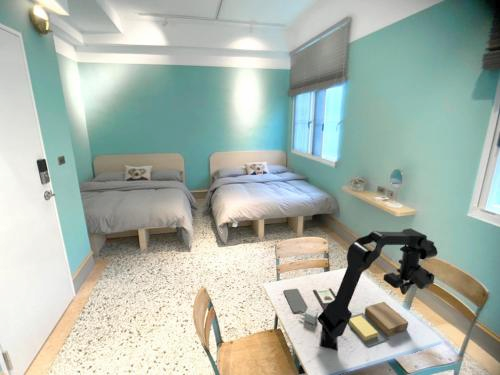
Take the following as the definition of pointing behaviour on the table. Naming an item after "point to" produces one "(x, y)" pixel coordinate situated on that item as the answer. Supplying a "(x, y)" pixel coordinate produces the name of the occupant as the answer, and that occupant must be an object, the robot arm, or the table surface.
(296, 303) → the smartphone
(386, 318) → the block
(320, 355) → the table surface
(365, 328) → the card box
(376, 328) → the mat
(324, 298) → the chocolate bar
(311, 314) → the usb wall charger
